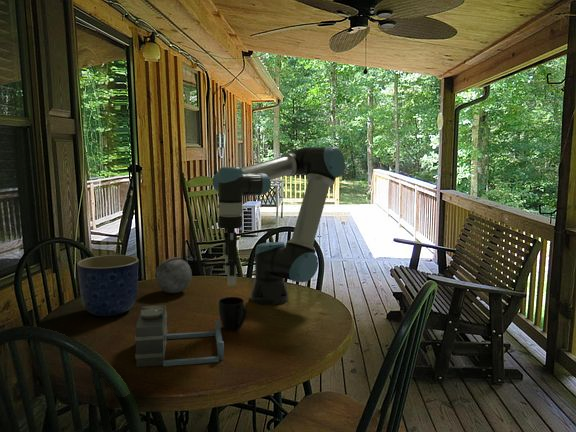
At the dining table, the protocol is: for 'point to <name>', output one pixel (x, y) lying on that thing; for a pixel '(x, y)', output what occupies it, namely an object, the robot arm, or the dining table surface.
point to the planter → (108, 283)
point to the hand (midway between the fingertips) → (230, 279)
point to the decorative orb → (173, 275)
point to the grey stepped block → (151, 336)
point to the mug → (232, 313)
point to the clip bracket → (204, 359)
